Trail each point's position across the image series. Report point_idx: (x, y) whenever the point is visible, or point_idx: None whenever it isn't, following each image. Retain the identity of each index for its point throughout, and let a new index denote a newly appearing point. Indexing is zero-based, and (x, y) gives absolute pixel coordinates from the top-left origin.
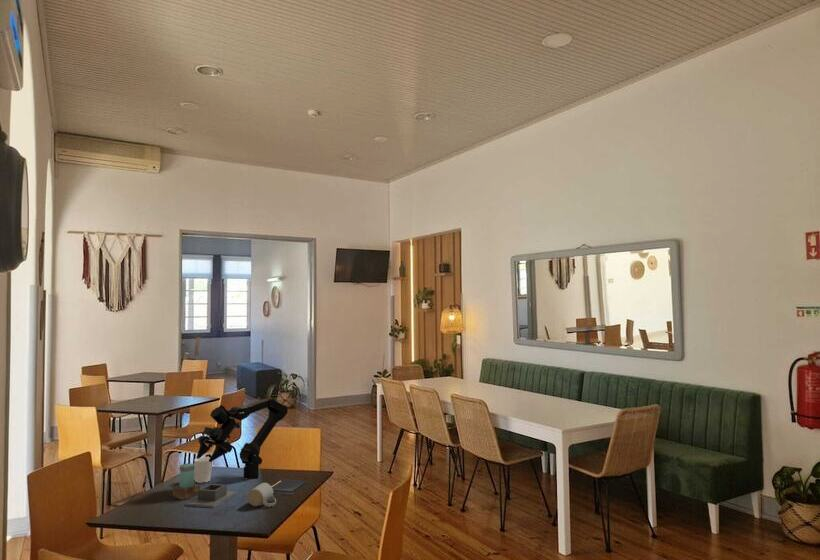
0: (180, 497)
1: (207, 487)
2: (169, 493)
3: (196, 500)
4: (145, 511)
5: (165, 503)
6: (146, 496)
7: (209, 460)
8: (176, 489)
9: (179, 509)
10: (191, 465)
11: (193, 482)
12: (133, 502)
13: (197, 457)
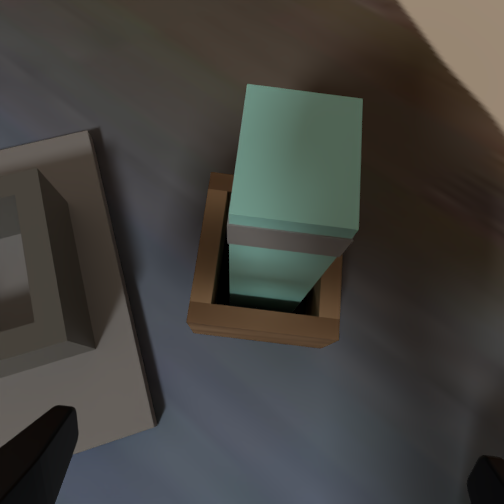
0: None
1: (30, 272)
2: (411, 251)
3: (68, 193)
4: (231, 5)
5: None
6: (471, 149)
7: (49, 411)
8: None
9: (85, 87)
10: (234, 176)
11: (230, 279)
12: (423, 59)
13: (486, 475)
